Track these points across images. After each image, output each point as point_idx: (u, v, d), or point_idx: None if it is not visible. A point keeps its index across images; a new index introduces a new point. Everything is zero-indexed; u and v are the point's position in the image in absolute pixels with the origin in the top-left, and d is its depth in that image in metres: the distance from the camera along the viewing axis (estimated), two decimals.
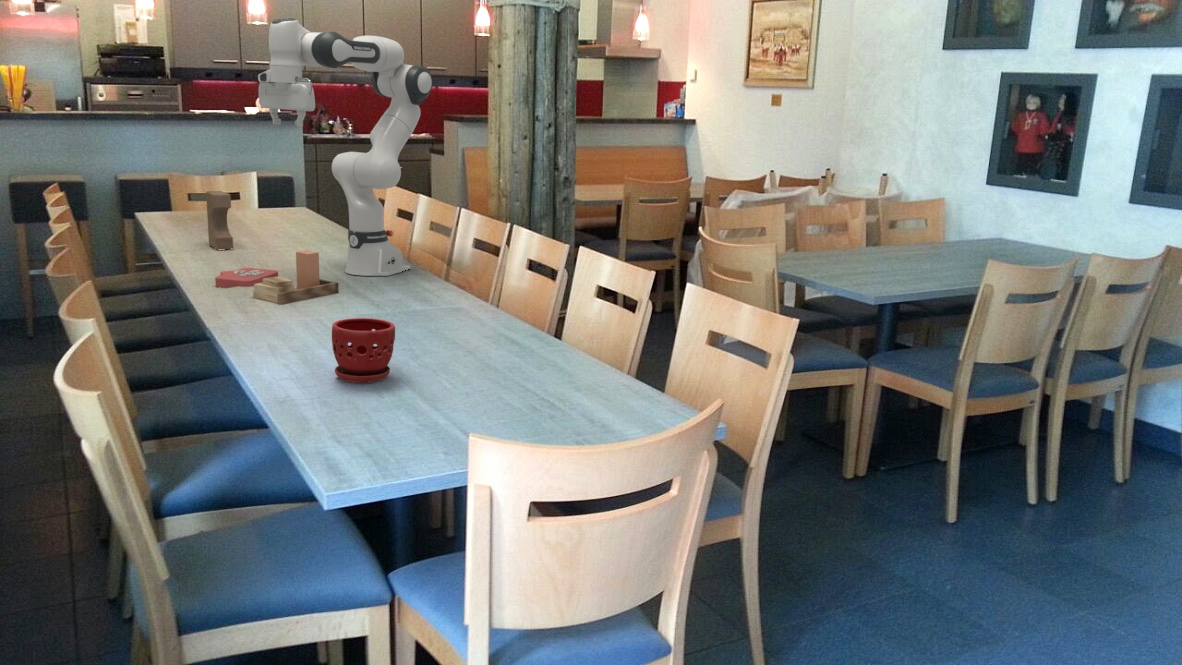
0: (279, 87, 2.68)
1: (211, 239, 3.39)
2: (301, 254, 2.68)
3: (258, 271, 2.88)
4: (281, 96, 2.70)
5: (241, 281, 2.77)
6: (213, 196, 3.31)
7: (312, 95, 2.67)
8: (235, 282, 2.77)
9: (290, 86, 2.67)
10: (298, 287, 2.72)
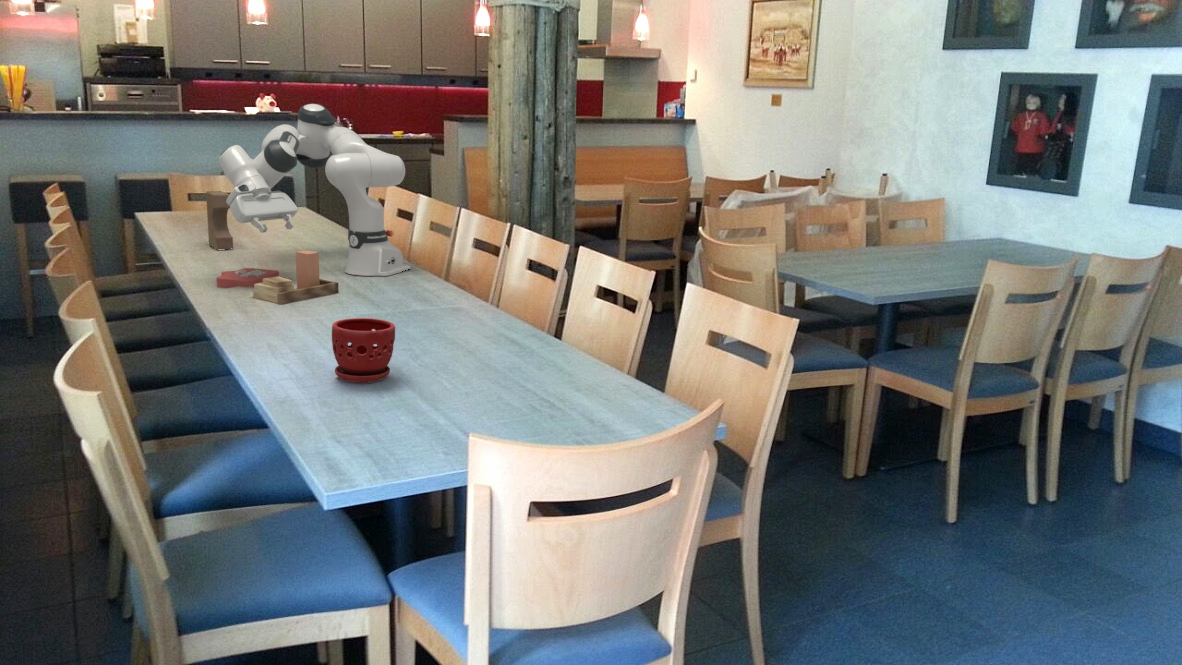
0: (265, 194, 2.76)
1: (211, 239, 3.39)
2: (301, 254, 2.68)
3: (259, 271, 2.88)
4: (266, 203, 2.75)
5: (243, 281, 2.77)
6: (213, 196, 3.31)
7: None
8: (237, 282, 2.77)
9: (272, 194, 2.79)
10: (298, 287, 2.72)
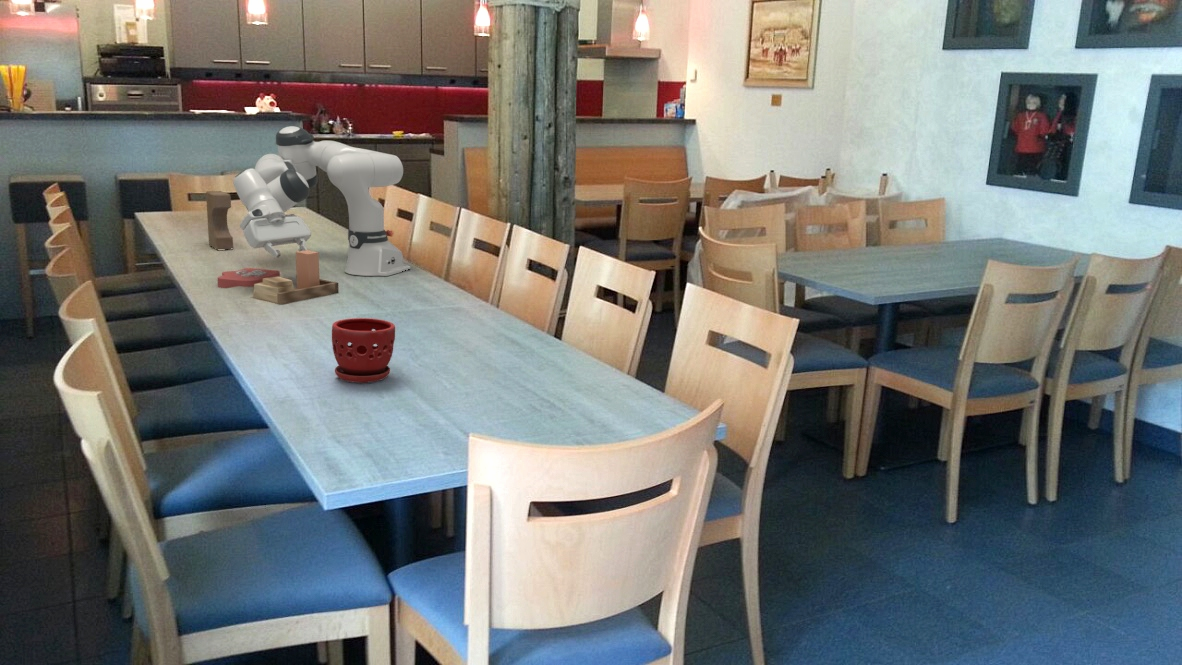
0: (279, 218, 2.73)
1: (211, 239, 3.39)
2: (301, 254, 2.68)
3: (260, 271, 2.88)
4: (279, 228, 2.72)
5: (244, 281, 2.77)
6: (213, 196, 3.31)
7: None
8: (238, 282, 2.77)
9: (286, 219, 2.76)
10: (298, 287, 2.72)
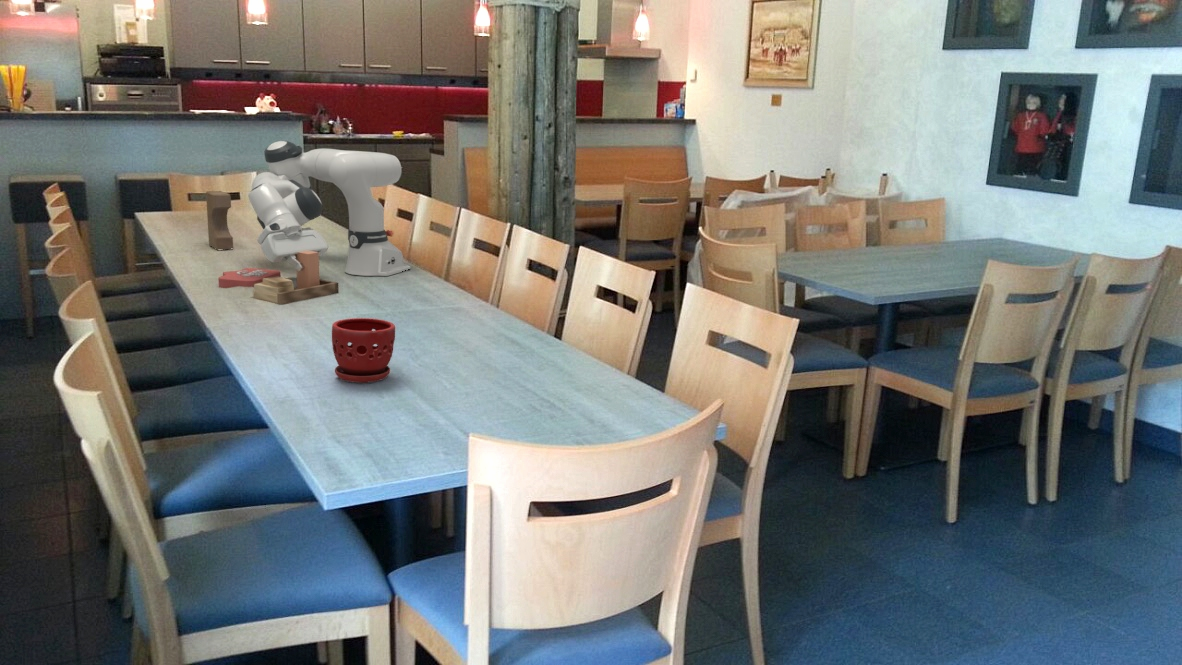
0: (296, 232, 2.71)
1: (211, 239, 3.39)
2: (301, 254, 2.68)
3: (261, 271, 2.88)
4: (297, 242, 2.71)
5: (245, 281, 2.77)
6: (213, 196, 3.31)
7: None
8: (239, 282, 2.77)
9: (302, 232, 2.75)
10: (298, 287, 2.72)
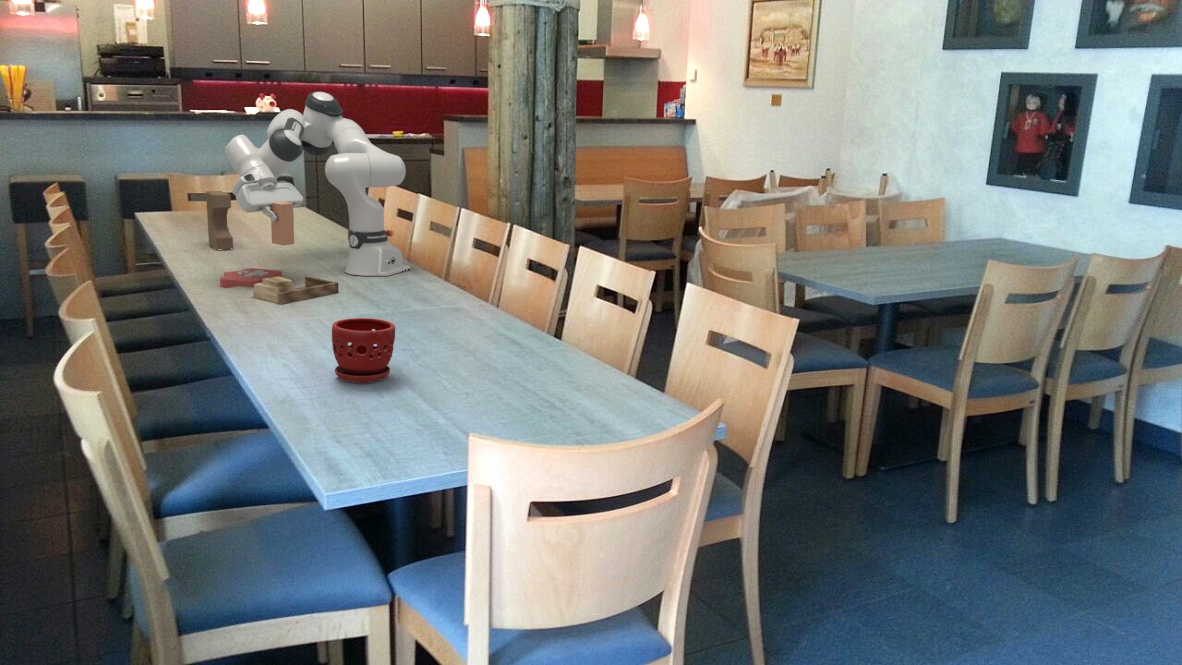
0: (271, 183, 2.75)
1: (211, 239, 3.39)
2: (275, 205, 2.72)
3: (262, 271, 2.88)
4: (271, 193, 2.74)
5: (247, 281, 2.77)
6: (213, 196, 3.31)
7: None
8: (241, 282, 2.77)
9: (277, 184, 2.78)
10: (273, 238, 2.75)
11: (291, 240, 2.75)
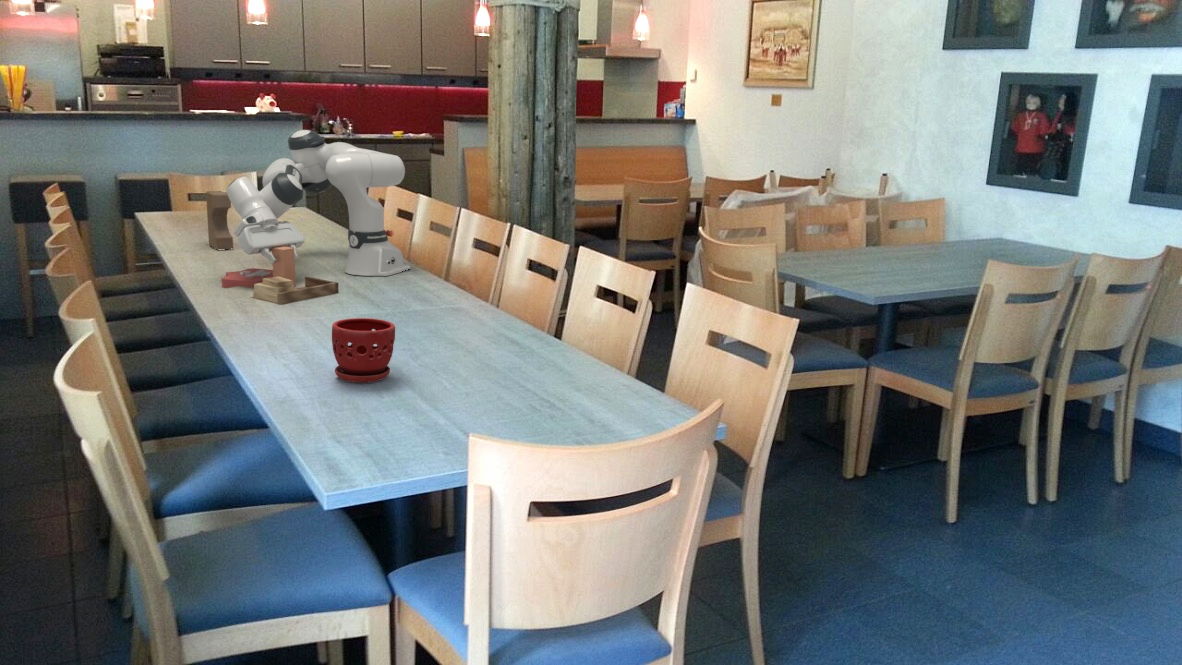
0: (273, 225, 2.78)
1: (211, 239, 3.39)
2: (277, 250, 2.75)
3: (264, 271, 2.88)
4: (273, 234, 2.78)
5: (248, 281, 2.76)
6: (213, 196, 3.31)
7: None
8: (242, 282, 2.77)
9: (279, 225, 2.81)
10: None
11: (293, 284, 2.79)
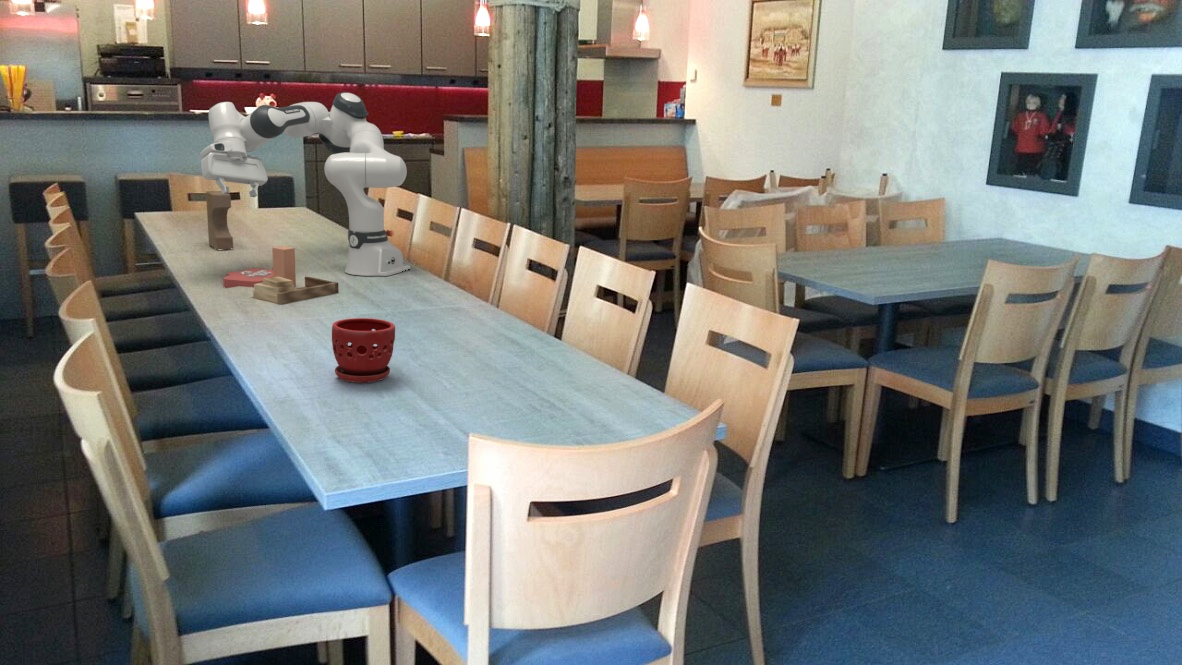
0: (240, 158, 2.82)
1: (211, 239, 3.39)
2: (277, 250, 2.75)
3: (265, 271, 2.88)
4: (237, 167, 2.82)
5: (250, 282, 2.76)
6: (213, 196, 3.31)
7: None
8: (244, 282, 2.77)
9: (246, 159, 2.86)
10: None
11: (293, 284, 2.79)
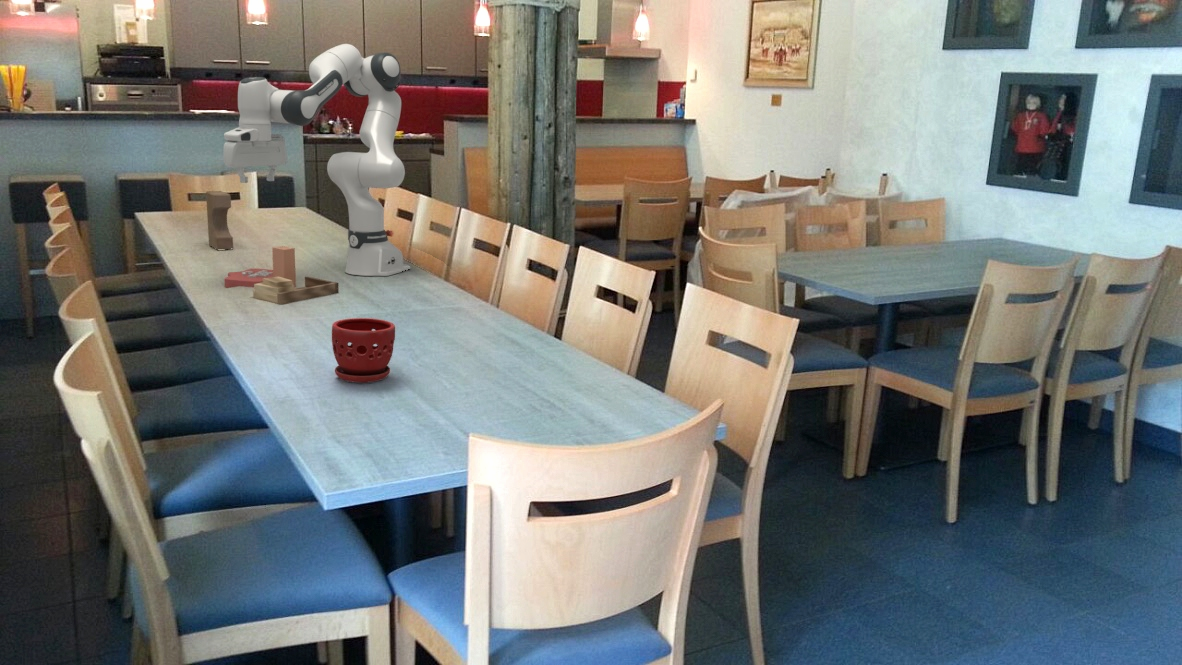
0: (264, 145, 2.73)
1: (211, 239, 3.39)
2: (277, 250, 2.75)
3: (266, 271, 2.88)
4: (259, 154, 2.74)
5: (251, 282, 2.76)
6: (213, 196, 3.31)
7: None
8: (245, 282, 2.77)
9: (270, 143, 2.77)
10: None
11: (293, 284, 2.79)
